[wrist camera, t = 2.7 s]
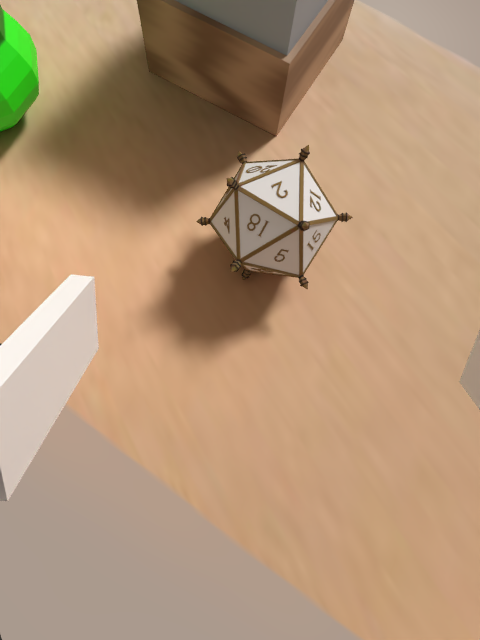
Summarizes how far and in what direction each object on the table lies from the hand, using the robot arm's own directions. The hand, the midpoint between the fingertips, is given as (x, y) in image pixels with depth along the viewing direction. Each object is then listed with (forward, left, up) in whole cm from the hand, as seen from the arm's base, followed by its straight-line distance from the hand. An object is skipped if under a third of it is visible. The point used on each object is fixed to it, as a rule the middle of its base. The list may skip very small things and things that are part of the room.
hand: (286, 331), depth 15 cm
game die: (+4, -10, -15) cm, 18 cm away
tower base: (+14, -25, -15) cm, 32 cm away
